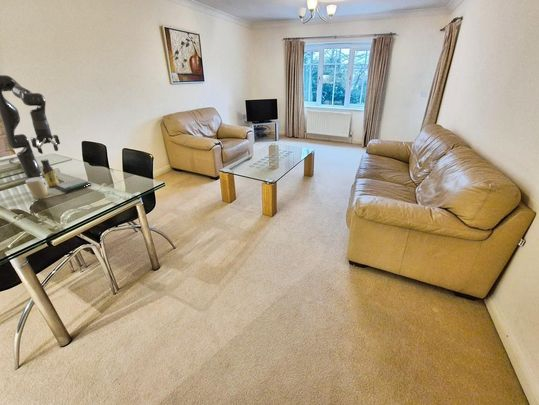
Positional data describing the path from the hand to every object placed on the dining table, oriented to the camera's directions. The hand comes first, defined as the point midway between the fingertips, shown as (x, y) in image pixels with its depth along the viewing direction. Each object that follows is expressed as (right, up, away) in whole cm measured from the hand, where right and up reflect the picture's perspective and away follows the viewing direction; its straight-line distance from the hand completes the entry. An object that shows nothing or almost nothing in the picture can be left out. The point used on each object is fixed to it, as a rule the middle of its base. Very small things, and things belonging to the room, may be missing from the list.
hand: (48, 152), depth 165 cm
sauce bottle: (-11, -22, +17) cm, 30 cm away
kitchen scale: (+3, -22, +17) cm, 28 cm away
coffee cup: (-8, -29, +4) cm, 30 cm away
